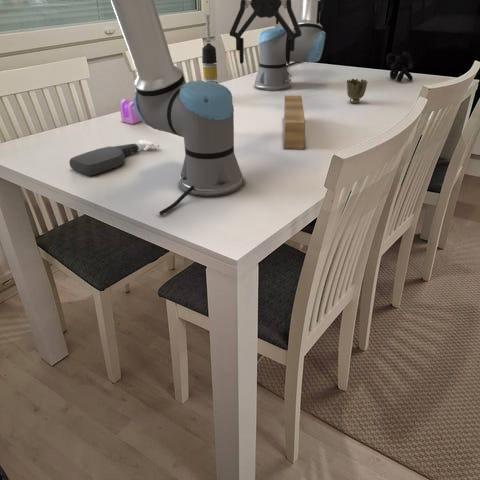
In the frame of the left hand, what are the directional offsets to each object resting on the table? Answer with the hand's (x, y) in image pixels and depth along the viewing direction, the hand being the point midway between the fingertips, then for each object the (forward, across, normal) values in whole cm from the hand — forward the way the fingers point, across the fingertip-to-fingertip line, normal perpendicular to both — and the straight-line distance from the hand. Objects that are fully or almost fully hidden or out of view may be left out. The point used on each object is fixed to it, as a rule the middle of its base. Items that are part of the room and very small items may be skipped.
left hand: (264, 63), depth 130 cm
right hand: (-8, -8, -30) cm, 32 cm away
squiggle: (+20, -54, -79) cm, 98 cm away
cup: (+21, -31, -39) cm, 54 cm away
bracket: (+21, +45, -13) cm, 51 cm away
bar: (+21, -9, -3) cm, 23 cm away
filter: (+21, +25, -41) cm, 53 cm away
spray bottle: (+22, +39, +25) cm, 51 cm away
